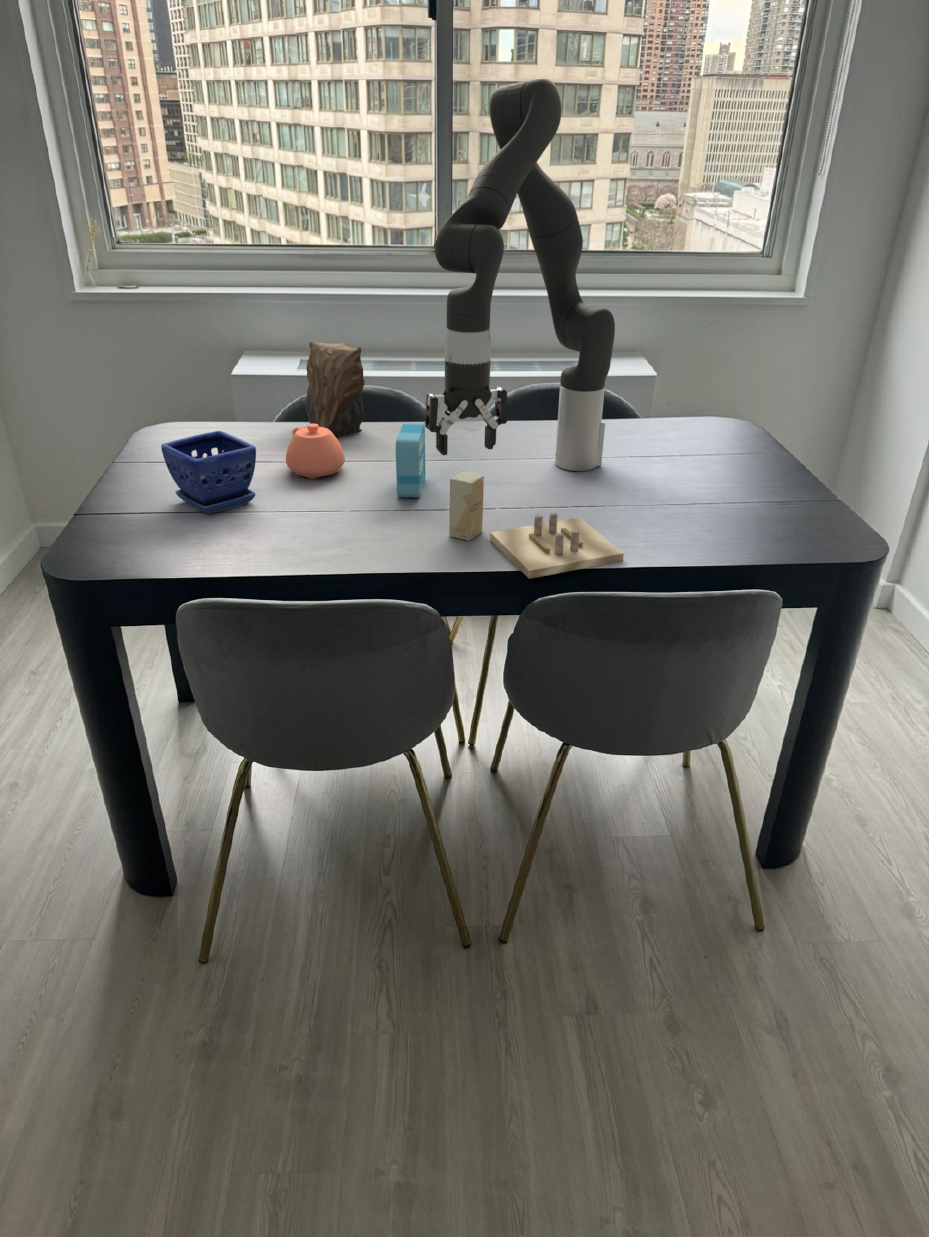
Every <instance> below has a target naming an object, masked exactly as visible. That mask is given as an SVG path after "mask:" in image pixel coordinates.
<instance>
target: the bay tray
mask: <svg viewBox="0 0 929 1237" xmlns="http://www.w3.org/2000/svg"><path fill="white" fill-rule="evenodd" d="M558 517H559V516H558V513H557V512H550V513H549V521H547V522H544V523H543V515H541V514H537V515H536V514H535V515H534V521H533V522H534V524H533V525H532V524H531V525H525V526H519V527H514V528H509V529H501V530H496V531H490V532H489V540H490V542H491V543H492V544H494V545H495V547H496V548H497V549H498V550H500V552H501V553H503V554H504V556H506V558H507V559H508V560H509V561H511V562H512V564H514V566H515V567H516V568H518V569H519V571H520V572H522V573H523V575H525V577H527V579H530V580H531V579H535V578H541V577H545V576H551V575H556V574H557V575H558V574H561V573H562V574H563V573H567V572H572V571H577V570H582V569H587V568H593V567H597V566H603V565H608V564H615V563H619V562H623V560H624V556H625V555H624V554H625V553H624V552H623V551H622V550H621V549H620V548H618V547H617V546H615V545H614V544H613V543H612V542H610V541H609V540H608V539H607V538H605V537H604V536H603V535H601V533H599V532H597V530H596V529H594V528H593V527H591V526H590V525H589V524H588V523H586V522H585V521H584V520H582V518H580V517H573V518H566V519H561V520H558Z"/></svg>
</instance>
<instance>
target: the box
mask: <svg viewBox="0 0 929 1237" xmlns="http://www.w3.org/2000/svg"><path fill="white" fill-rule="evenodd" d="M484 477H485V475H483V474H480V473H476V472H470V471H467V470H464V471H462V472H460V473H458V474H455V475H454V476H453V477H451V478H450V479H449V528H448V530H449V532H448V534H449V536H450V537H453V538H457V539H459V540H460V539H461V540H464V541H470V540H472V539H474V538H475V537H477V536H478V535H480V534H482V532H483V522H484V521H483V520H484V519H483V518H484V517H483V516H484V488H485V487H484V486H485V485H484V484H485V483H484V482H485V480H484V479H485V478H484Z"/></svg>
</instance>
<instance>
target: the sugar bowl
mask: <svg viewBox="0 0 929 1237" xmlns="http://www.w3.org/2000/svg"><path fill="white" fill-rule="evenodd" d="M285 452H286V453H285V464H286V466H287V468H289V470H290V471H292V472H293V473H294V474H296V475H297V476H300V477H301V476H302V477H306V478H308V479H310V480H316V479H318V478H320V477H326V476H327V477H328V476H330V475H333V474H336V473H337V472H338V471H340V469H341V468H342V467H343V465H344V463H345V460H346V459H345V458H346V457H345V453H344V449H343V447H342V445H341V443H340V441H339V440H338V438H336V437H335V436H334V434H333V433H332V432H331V431H330V430H329V429H327V428H323V427H319V425H318V424H310V423H309V424H307V425H306V427H302V426H296V427H294V428H293V429H292V438H291V440H290V441H289V443H288V446H287V448H286V451H285Z"/></svg>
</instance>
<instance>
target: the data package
mask: <svg viewBox="0 0 929 1237" xmlns="http://www.w3.org/2000/svg"><path fill="white" fill-rule="evenodd" d="M398 431H399V432H398V434H397V437H396V440H395V469H396V470H395V471H396V472H395V474H396V478H395V479H396V494H397V495H396V497H397V498H411V499H413V498H414V499H415V498H416V499H418V498H421V496H422V492H423V488H424V485H425V480H426V427H425V424H423V423H421V424H419V423H418V424H417V423H402V424H401V427H400V430H398Z"/></svg>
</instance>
